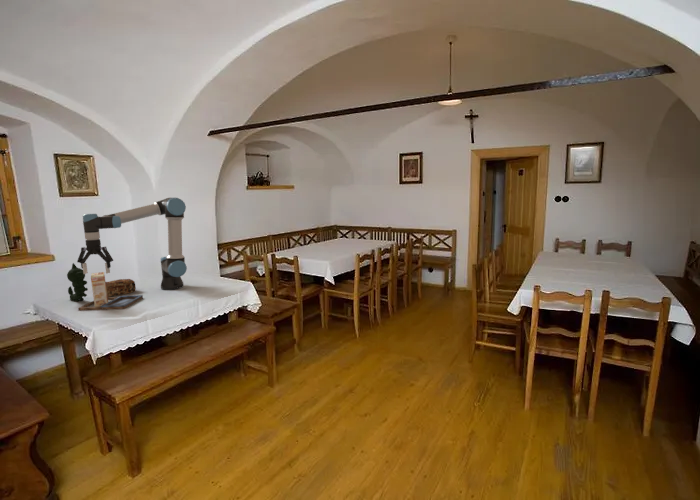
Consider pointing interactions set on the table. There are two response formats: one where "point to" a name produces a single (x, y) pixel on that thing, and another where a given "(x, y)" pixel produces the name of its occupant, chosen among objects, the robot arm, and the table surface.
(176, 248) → the robot arm
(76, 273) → the toy figurine
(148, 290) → the table surface
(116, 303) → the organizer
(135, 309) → the table surface
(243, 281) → the table surface
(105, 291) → the coffeecake box
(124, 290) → the bread
